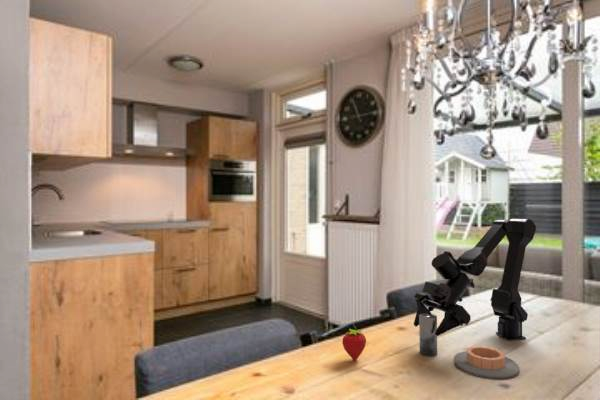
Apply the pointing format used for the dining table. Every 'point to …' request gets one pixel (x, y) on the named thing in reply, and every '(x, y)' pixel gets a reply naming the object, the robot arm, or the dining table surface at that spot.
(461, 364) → the slate seat plate
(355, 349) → the strawberry
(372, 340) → the dining table surface
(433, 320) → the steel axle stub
